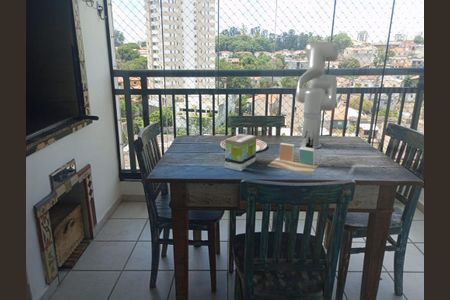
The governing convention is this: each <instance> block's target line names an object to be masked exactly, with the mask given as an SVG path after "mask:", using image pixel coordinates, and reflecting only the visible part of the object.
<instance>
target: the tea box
mask: <svg viewBox="0 0 450 300" xmlns="http://www.w3.org/2000/svg"><path fill="white" fill-rule="evenodd" d="M256 139H257V135H251V134H246V133H239V134H237V135H233V136H231V137H229V138H226V139H224V141H225V149H224V168H226V169H230V170H235V171H239V172H242V171H244V170H245V169H247V168H248V166H250V165H251V164H253V163H254V162H256V157H257V156H256V155H257V154H256V153H257V152H256Z"/></svg>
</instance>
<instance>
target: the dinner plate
mask: <svg viewBox="0 0 450 300" xmlns="http://www.w3.org/2000/svg"><path fill="white" fill-rule="evenodd" d="M220 146H221V148H222V149H224V150H225V140H223V141H221V142H220ZM267 147H268V145H267V143H266V142H265V141H262V140H260V139H257V138H256V153H257V152H260V151H263V150H265V149H266V148H267Z"/></svg>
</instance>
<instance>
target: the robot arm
mask: <svg viewBox="0 0 450 300" xmlns="http://www.w3.org/2000/svg"><path fill="white" fill-rule="evenodd" d="M339 50H340V49H339V44H338V42H336V41H314V42H309V43H307V44H306V46H305V56H306V60H307V70H306V71H305V72H304V73H303V74H302V75H300V77H299V79H298V80H297V83H296V90H295V99H296V101H297V102H298V103H301V104H304V105H303V106H304V107H303V125H302V126H303V127H302V133H301V134H302V135H301V139H302V142H300V143H299V146H300V147H308V148H315V150H316V149H320V148H322V144H321V143H320V134H321V126H322V125H321V123H322V117H321V111H322V112H323V111H326V112H330V111H331V112H332V111H334V109H335V107H336V102H337V100H336V99H337V88H338V79H337V77H336V76H335V75H333V74H325V71H326V70H325V68H326V62H336V61H337V60H338V57H339ZM306 83H307V87H304V85H305V84H306Z"/></svg>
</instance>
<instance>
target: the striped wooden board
mask: <svg viewBox="0 0 450 300" xmlns="http://www.w3.org/2000/svg"><path fill="white" fill-rule="evenodd" d="M319 165H320V163H317V162H315V164H314V165H308V164H302V163H300V159H294V161H293V162H290V161H284V160H279V156H277V158H274V160H272V161H271V162H270V163H268V164H267V165H266V166H267V167H271V168H272V167H273V168H278V169H283V170H288V171H293V172H299V173H305V174H309V175H310V174H312V173H313V172H314V171H315V170H316V169H317V168H318V167H319Z"/></svg>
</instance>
